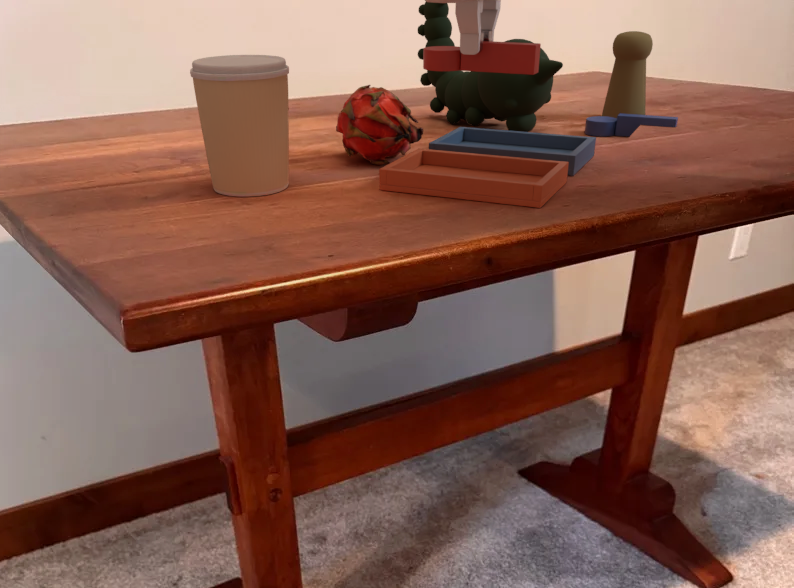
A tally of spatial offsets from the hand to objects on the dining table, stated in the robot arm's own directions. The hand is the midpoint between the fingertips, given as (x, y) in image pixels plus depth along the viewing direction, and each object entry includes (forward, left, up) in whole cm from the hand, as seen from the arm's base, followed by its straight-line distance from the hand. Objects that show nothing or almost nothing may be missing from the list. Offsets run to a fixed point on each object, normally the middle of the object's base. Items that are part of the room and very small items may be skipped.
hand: (476, 52), depth 75 cm
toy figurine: (+9, -30, -13) cm, 33 cm away
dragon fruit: (+14, -7, -13) cm, 20 cm away
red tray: (0, 0, -13) cm, 13 cm away
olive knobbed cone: (-7, -43, -13) cm, 45 cm away
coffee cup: (+21, +9, -13) cm, 26 cm away
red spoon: (0, 0, -2) cm, 2 cm away
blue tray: (0, -13, -13) cm, 18 cm away
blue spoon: (-10, -31, -13) cm, 35 cm away
